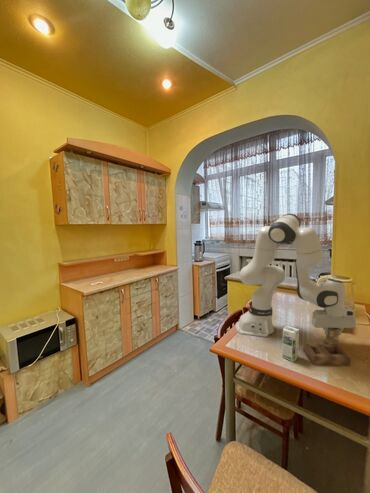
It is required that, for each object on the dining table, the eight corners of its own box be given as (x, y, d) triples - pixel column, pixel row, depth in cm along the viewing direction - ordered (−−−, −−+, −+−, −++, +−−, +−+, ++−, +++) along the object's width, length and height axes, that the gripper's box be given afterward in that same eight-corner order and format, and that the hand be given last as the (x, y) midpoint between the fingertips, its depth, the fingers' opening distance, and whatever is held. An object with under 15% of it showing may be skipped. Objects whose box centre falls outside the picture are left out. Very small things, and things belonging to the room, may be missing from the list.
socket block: (312, 364, 101) (312, 356, 100) (302, 351, 110) (303, 343, 110) (349, 365, 99) (350, 357, 98) (336, 351, 109) (337, 344, 108)
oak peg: (330, 345, 115) (330, 328, 114) (325, 340, 119) (326, 325, 118) (338, 345, 114) (339, 328, 113) (333, 340, 118) (334, 325, 117)
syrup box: (281, 357, 106) (282, 329, 104) (286, 351, 110) (287, 324, 108) (294, 362, 102) (295, 333, 100) (298, 356, 106) (299, 328, 104)
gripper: (315, 312, 112) (314, 337, 114) (358, 312, 110) (356, 338, 112) (310, 307, 118) (309, 331, 120) (350, 307, 116) (349, 332, 118)
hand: (332, 334), depth 116 cm, fingers closed on oak peg, 4 cm apart
